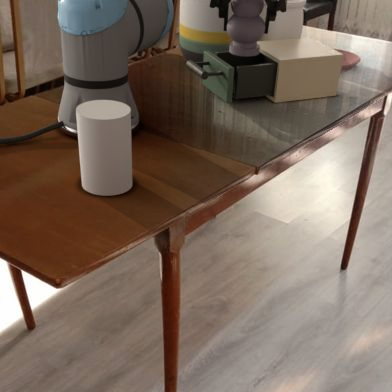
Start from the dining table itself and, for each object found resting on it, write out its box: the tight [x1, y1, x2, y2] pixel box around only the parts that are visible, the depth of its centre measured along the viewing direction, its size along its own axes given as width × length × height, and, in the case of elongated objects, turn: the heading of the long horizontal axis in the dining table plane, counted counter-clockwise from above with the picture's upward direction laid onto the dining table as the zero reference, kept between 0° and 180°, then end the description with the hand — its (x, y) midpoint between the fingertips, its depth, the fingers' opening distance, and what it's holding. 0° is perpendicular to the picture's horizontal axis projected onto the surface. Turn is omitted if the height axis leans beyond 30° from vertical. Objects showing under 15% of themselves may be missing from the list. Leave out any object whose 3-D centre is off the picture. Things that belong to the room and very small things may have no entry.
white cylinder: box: [76, 100, 133, 197], centre depth 98 cm, size 8×8×12 cm
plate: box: [333, 48, 362, 72], centre depth 155 cm, size 14×14×2 cm
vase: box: [178, 0, 234, 68], centre depth 145 cm, size 17×17×24 cm
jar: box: [258, 0, 307, 41], centre depth 149 cm, size 11×10×15 cm
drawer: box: [185, 51, 278, 104], centre depth 133 cm, size 20×12×7 cm, turn 114°
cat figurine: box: [227, 0, 265, 56], centre depth 127 cm, size 8×8×12 cm
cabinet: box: [257, 36, 344, 104], centre depth 138 cm, size 16×14×9 cm
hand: (246, 26), depth 131 cm, fingers closed on cat figurine, 8 cm apart
